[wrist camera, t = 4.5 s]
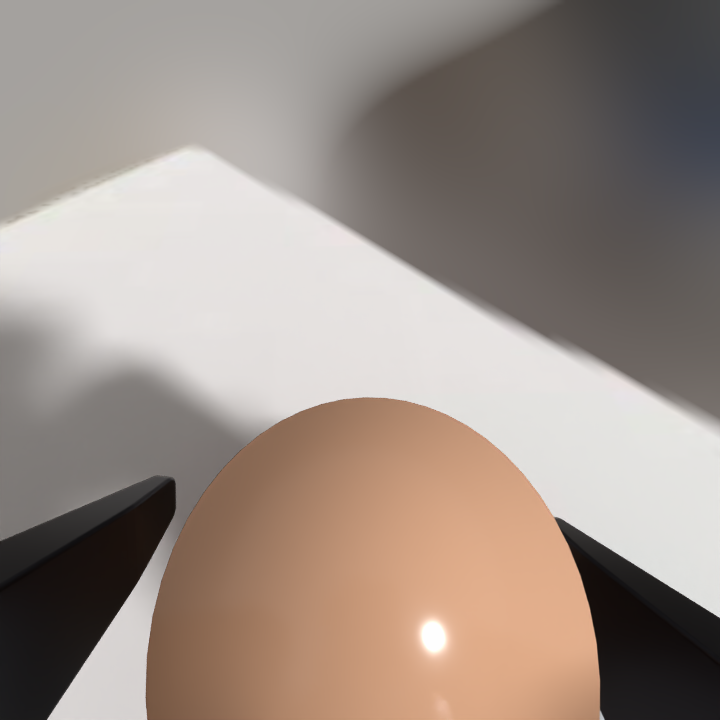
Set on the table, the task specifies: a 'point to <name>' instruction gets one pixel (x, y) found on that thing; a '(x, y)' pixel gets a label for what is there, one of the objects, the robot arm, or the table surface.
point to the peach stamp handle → (371, 582)
